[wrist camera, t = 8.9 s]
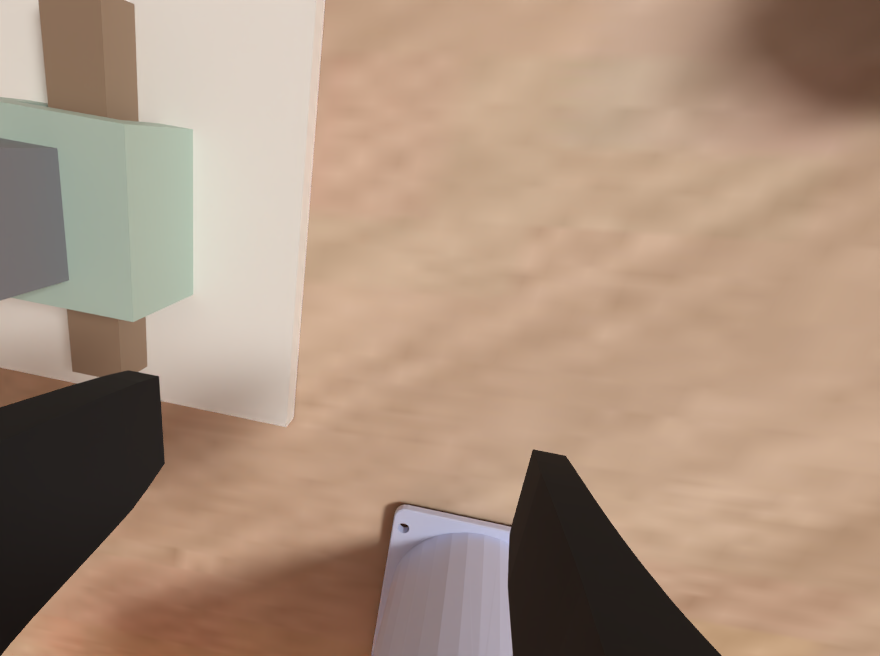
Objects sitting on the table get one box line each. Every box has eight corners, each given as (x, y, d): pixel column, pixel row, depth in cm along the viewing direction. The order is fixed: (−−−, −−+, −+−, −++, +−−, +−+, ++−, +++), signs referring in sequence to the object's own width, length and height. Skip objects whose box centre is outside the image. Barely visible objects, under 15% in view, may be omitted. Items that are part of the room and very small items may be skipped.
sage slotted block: (193, 294, 20) (71, 350, 14) (46, 265, 20) (-130, 309, 14) (192, 129, 18) (50, 118, 12) (29, 100, 18) (-184, 76, 12)
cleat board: (293, 417, 22) (270, 446, 20) (-12, 354, 22) (-67, 375, 20) (326, -13, 16) (299, -38, 14) (-78, -79, 17) (-162, -112, 15)
